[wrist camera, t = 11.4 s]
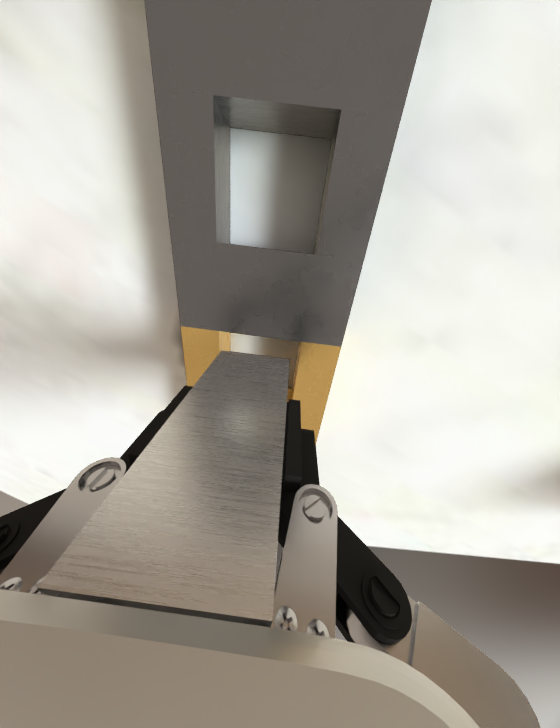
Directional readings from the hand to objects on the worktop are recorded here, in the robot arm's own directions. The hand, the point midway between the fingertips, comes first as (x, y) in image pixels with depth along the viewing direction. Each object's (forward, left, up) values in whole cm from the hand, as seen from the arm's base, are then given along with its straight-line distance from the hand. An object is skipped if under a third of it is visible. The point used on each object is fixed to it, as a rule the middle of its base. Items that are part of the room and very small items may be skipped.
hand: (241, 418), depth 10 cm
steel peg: (0, 0, -3) cm, 3 cm away
